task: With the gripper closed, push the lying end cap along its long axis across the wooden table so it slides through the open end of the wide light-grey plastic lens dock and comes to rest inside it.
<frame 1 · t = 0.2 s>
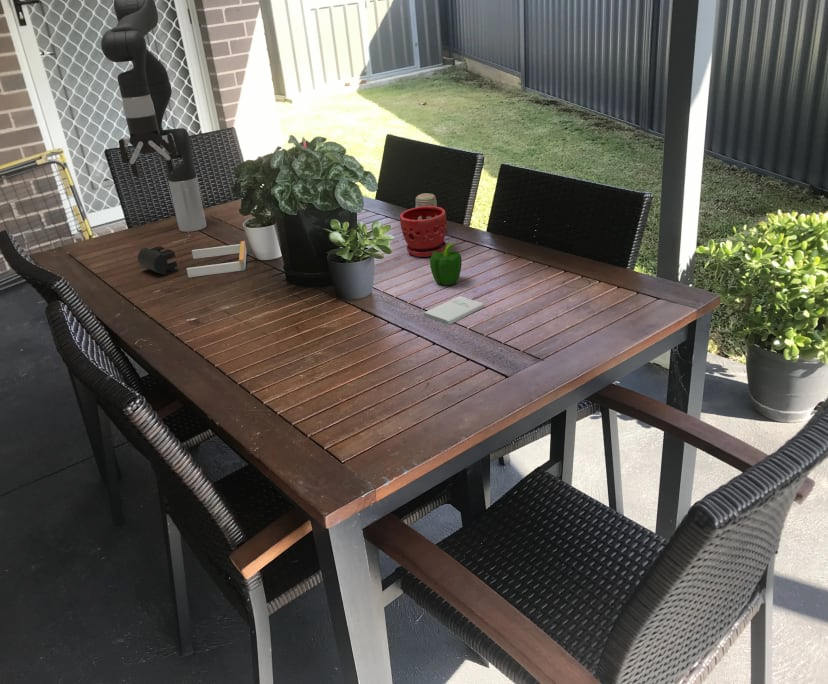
hand: (154, 175, 198), 29 cm above the table, fingers open, 8 cm apart
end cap: (160, 272, 213), on the table
plant pot: (425, 252, 212), on the table
external hard drive: (454, 314, 173), on the table
lens dock: (218, 263, 215), on the table
bell pepper: (447, 283, 190), on the table
carving: (427, 233, 227), on the table
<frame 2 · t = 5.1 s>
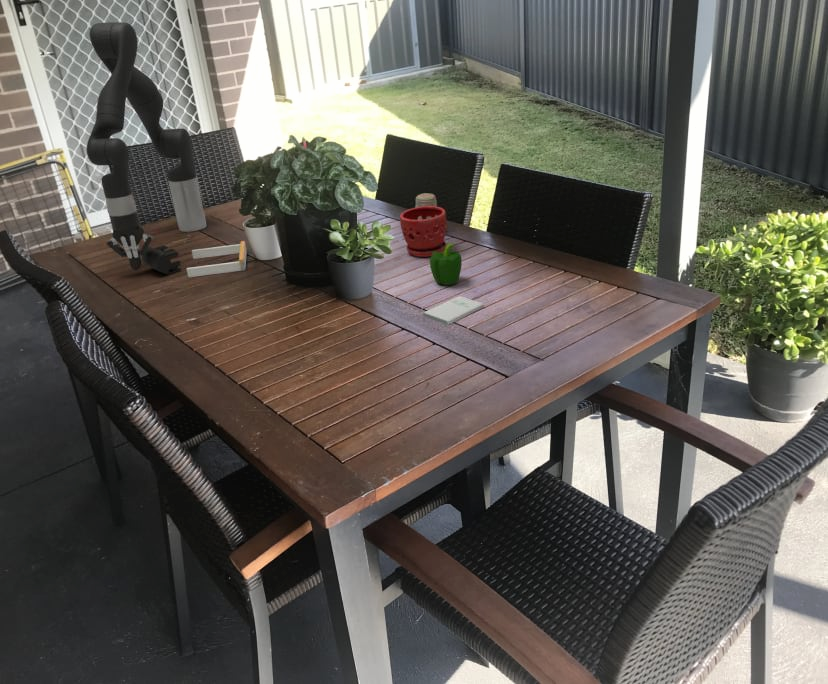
hand: (137, 269, 212), 2 cm above the table, fingers closed
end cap: (163, 271, 213), on the table, touching gripper, hand
everything else where it was.
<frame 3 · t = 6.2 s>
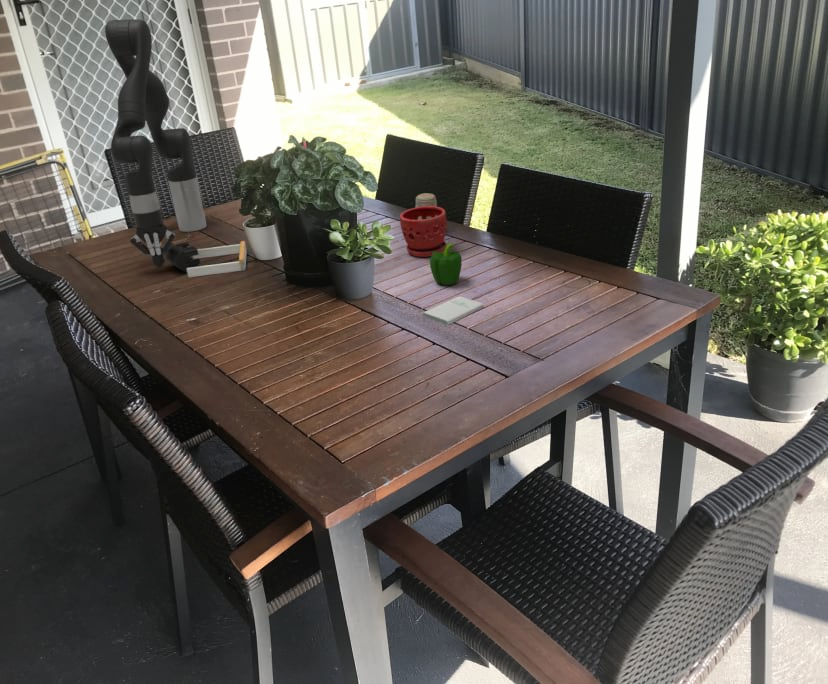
hand: (159, 266, 212), 2 cm above the table, fingers closed
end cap: (184, 268, 214), on the table
everything else where it was.
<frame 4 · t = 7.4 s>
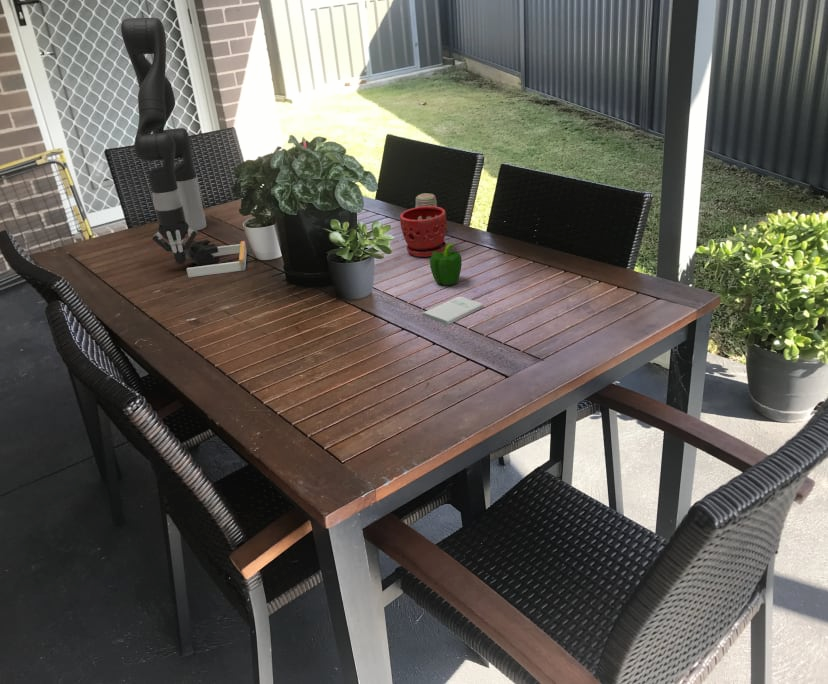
hand: (181, 263, 213), 2 cm above the table, fingers closed
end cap: (204, 265, 215), on the table, touching gripper
everything else where it was.
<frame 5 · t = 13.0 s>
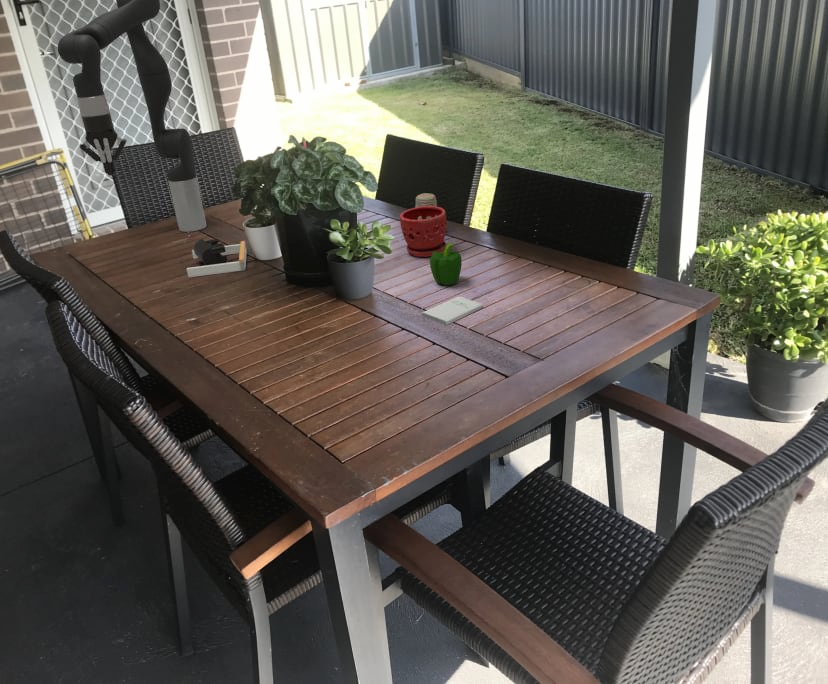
hand: (111, 174, 210), 27 cm above the table, fingers closed
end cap: (212, 264, 216), on the table
everything else where it was.
at the end: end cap inside the target area on the lens dock (2.0 cm from its centre), point 0.0 cm above the lens dock's base; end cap moved 15.1 cm from its start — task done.
